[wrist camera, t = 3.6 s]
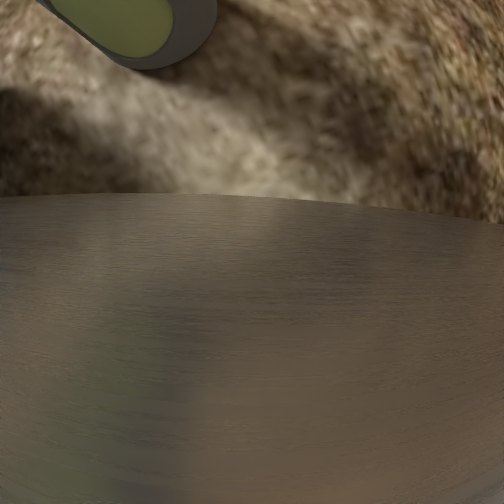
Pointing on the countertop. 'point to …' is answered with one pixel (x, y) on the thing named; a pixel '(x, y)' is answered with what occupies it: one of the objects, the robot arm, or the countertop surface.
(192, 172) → the countertop surface
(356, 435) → the case
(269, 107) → the countertop surface
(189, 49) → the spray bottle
